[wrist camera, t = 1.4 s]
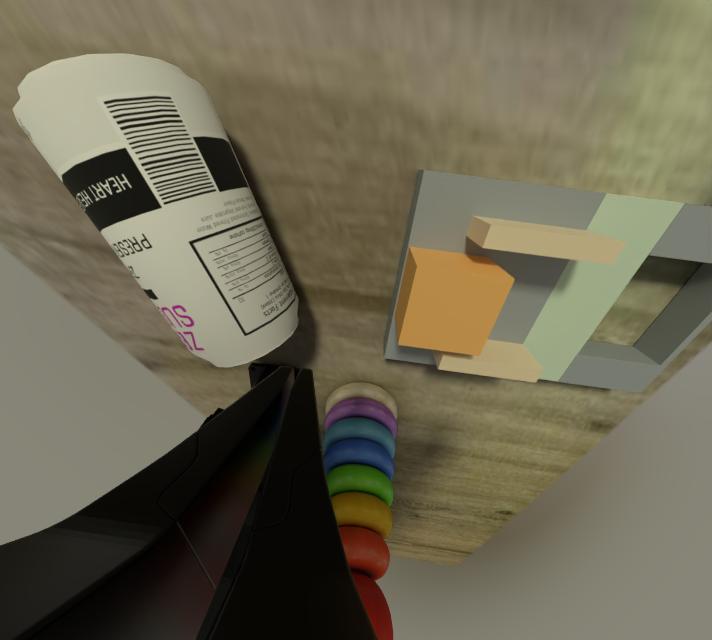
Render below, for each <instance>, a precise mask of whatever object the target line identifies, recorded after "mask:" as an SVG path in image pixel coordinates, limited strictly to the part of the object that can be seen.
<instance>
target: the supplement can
mask: <svg viewBox="0 0 712 640" xmlns="http://www.w3.org/2000/svg"><path fill="white" fill-rule="evenodd" d="M17 89H18V92H19V95H20V100H19V101H18V103H17V104H16V105H15V107H14V108H13V112H14V114H15V117H16V119H17V121H18V124H19V125H20V126H21V128H22V129H23V130H24V132H25V133H26V134H27V136H28V137H29V138H30V140H31V141H32V142H33V144H34V145H35V146H36V147H37V149H38V150H39V151H40V153H41V154H42V155H43V157H44V158H45V159H46V161H47V162H48V163H49V165H50V166H51V167H52V169H53V170H54V171H55V173H56V174H57V175H58V177H59V178H60V179H61V181H62V182H63V183H64V185H65V186H66V187H67V189H68V190H69V191H70V193H71V194H72V195H73V197H74V198H75V199H76V201H77V202H78V203H79V205H80V206H81V207H82V209H83V210H84V211H85V213H86V214H87V215H88V217H89V218H90V219H91V221H92V222H93V223H94V225H95V226H96V227H97V229H98V230H99V231H100V233H101V234H102V235H103V237H104V238H105V239H106V241H107V242H108V243H109V245H110V246H111V247H112V249H113V250H114V251H115V253H116V254H117V255H118V257H119V258H120V259H121V261H122V262H123V263H124V265H125V266H126V267H127V269H128V270H129V271H130V272H131V274H132V275H133V276H134V278H135V279H136V280H137V282H138V283H139V284H140V286H141V287H142V288H143V290H144V291H145V292H146V294H147V295H148V296H149V298H150V299H151V300H152V302H153V303H154V304H155V306H156V307H157V308H158V310H159V311H160V312H161V314H162V315H163V316H164V318H165V319H166V320H167V322H168V323H169V324H170V326H171V327H172V328H173V330H174V331H175V332H176V334H177V335H178V336H179V338H180V339H181V340H182V342H183V343H184V344H185V346H186V347H187V348H188V350H189V351H190V352H192V353H193V354H195V355H196V356H198V357H201V358H203V359H205V360H208V361H210V362H211V363H212V364H214V365H215V366H217V367H233V366H237V365H241V364H245V363H248V362H250V361H253V360H255V359H257V358H260V357H262V356H264V355H266V354H267V353H269V352H271V351H272V350H274V349H275V348H277V347H279V346H280V345H281V344H282V343H284V342H285V341H286V340H287V339H288V338H289V337H290V336H291V335H292V334H293V333H294V331H295V330H296V328H297V327H298V317H297V310H298V300H299V299H298V297H297V295H296V292H295V290H294V288H293V285H292V283H291V281H290V279H289V276H288V274H287V272H286V269H285V267H284V265H283V263H282V260H281V258H280V256H279V253H278V251H277V249H276V247H275V244H274V242H273V240H272V237H271V235H270V233H269V231H268V228H267V226H266V224H265V221H264V219H263V217H262V215H261V212H260V210H259V208H258V205H257V203H256V201H255V199H254V196H253V194H252V192H251V189H250V187H249V185H248V183H247V180H246V178H245V176H244V173H243V171H242V169H241V167H240V164H239V162H238V160H237V157H236V155H235V153H234V151H233V148H232V146H231V144H230V141H229V139H228V137H227V135H226V132H225V130H224V128H223V126H222V123H221V121H220V119H219V116H218V114H217V112H216V110H215V107H214V105H213V103H212V100H211V98H210V96H209V94H208V92H207V91H206V90H205V89H204V88H203V87H202V86H201V85H200V84H199V83H198V82H197V81H195V80H193V79H191V78H189V77H188V76H187V75H186V74H185V73H184V72H183V71H182V70H181V69H179V68H178V67H176V66H174V65H172V64H169V63H167V62H164V61H162V60H159V59H157V58H150V57H144V56H138V55H132V54H88V55H83V56H78V57H73V58H68V59H63V60H58V61H53V62H51V63H49V64H47V65H45V66H43V67H41V68H39V69H37V70H34V71H32V72H30V73H28V74H27V76H26V77H25V78H24V80H23V81H22V82H21V84H20V85H19V87H18V88H17Z"/></svg>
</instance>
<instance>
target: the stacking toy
mask: <svg viewBox="0 0 712 640" xmlns="http://www.w3.org/2000/svg"><path fill="white" fill-rule="evenodd" d="M325 415H326V418H325V422H324V427H325V432H326V433H325V435H324V438H323V451H324V455H323V461H324V468H325V474H326V480H327V484H328V489H329V493H330V497H331V501H332V505H333V509H334V512H335V516H336V520H337V524H338V528H339V531H340V535H341V539H342V543H343V546H344V550H345V554H346V557H347V560H348V564H349V567H350V570H351V573H352V576H353V579H354V581H355V584H356V587H357V589H358V591H359V594H360V596H361V599H362V601H363V604H364V606H365V609H366V611H367V614H368V616H369V618H370V621H371V623H372V626H373V628H374V631H375V633H376V636H377V638H378V640H393V628H392V620H391V614H390V611H389V607H388V604H387V601H386V599H385V597H384V594H383V593H382V591H381V589H380V587H379V586H378V585H377V584H376V582H375V580H377V579H379V578H381V577H382V576H383V575H384V574H385V573H386V571H387V569H388V566H389V561H390V555H389V550H388V546H387V544H386V542H385V541H384V539H385V538H386V537H387V536H388V535H389V533H390V532H391V529H392V525H393V517H392V513H391V510H390V508H389V507H390V506H391V504H392V501H393V498H394V491H393V486H392V483H391V480H392V478H393V475H394V462H393V457H394V454H395V441H394V439H395V437H396V435H397V421H396V420H397V416H398V409H397V405H396V402H395V400H394V399H393V397H392V396H391V395H390V394H389V393H388V392H387V391H385V390H384V389H382V388H381V387H379V386H376V385H374V384H370V383H364V382H356V383H349V384H346V385H343V386H341V387H339V388H337V389H336V390H334V391H333V392H332V393H331V395H330V396H329V397H328V399H327V401H326V405H325Z"/></svg>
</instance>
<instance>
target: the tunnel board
mask: <svg viewBox="0 0 712 640" xmlns="http://www.w3.org/2000/svg"><path fill="white" fill-rule="evenodd" d="M409 247H416V248H423V249H431V250H438V251H446V252H454V253H461V254H469V255H477V256H484V257H488V258H489V259H491V260H492V261H493V262H494V263H496V264H497V265H498V266H499V267H501V268H502V269H503V270H504V271H506V272H507V273H508V274H509V275H511V276H512V277H513V278H514V279H515V280H514V283H513V285H512V287H511V289H510V291H509V293H508V296H507V298H506V300H505V302H504V304H503V306H502V309H501V311H500V313H499V315H498V317H497V319H496V322H495V324H494V326H493V328H492V330H491V332H490V335H489V337H488V339H487V341H486V343H485V345H484V348H483V350H482V352H481V354H480V356H477V355H469V354H462V353H454V352H447V351H440V350H432V349H425V348H418V347H410V346H403V345H398V340H397V331H396V322H395V310H396V306H397V301H398V296H399V292H400V287H401V283H402V278H403V273H404V269H405V264H406V260H407V255H408V250H409ZM648 255H651V256H659V257H667V258H674V259H682V260H690V261H697V262H704V263H703V264H702V265H701V266H700V268H699V269H698V270H697V271H696V272H695V274H694V275H693V276H692V277H691V278H690V279H689V281H688V282H687V283H686V284H685V285H684V287H683V288H682V289H681V290H680V291H679V293H678V294H677V295H676V296H675V297H674V298H673V300H672V301H671V302H670V303H669V304H668V306H667V307H666V308H665V309H664V310H663V312H662V313H661V314H660V315H659V316H658V317H657V319H656V320H655V321H654V322H653V323H652V325H651V326H650V327H649V328H648V329H647V331H646V332H645V333H644V334H643V335H642V337H641V338H640V339H639V340H638V341H637V342H636V344H635V345H634V346H633V347H632V346H625V345H617V344H610V343H602V342H595V341H588V339H589V337H590V336H591V334H592V333H593V332H594V330H595V329H596V327H597V326H598V325H599V323H600V322H601V320H602V319H603V318H604V316H605V315H606V313H607V312H608V311H609V309H610V308H611V306H612V305H613V304H614V302H615V301H616V299H617V298H618V297H619V295H620V294H621V292H622V291H623V290H624V288H625V287H626V285H627V284H628V283H629V281H630V280H631V278H632V277H633V276H634V274H635V273H636V271H637V270H638V269H639V267H640V266H641V264H642V263H643V262H644V260H645V259H646V257H647V256H648ZM711 320H712V207H710V206H702V205H694V204H687V203H679V202H671V201H663V200H655V199H647V198H639V197H632V196H624V195H616V194H608V193H600V192H592V191H585V190H577V189H569V188H561V187H553V186H545V185H538V184H530V183H522V182H514V181H506V180H498V179H491V178H483V177H475V176H467V175H459V174H451V173H443V172H436V171H428V170H418V174H417V179H416V184H415V189H414V194H413V199H412V204H411V209H410V214H409V218H408V223H407V228H406V233H405V238H404V243H403V248H402V253H401V258H400V263H399V268H398V272H397V277H396V282H395V287H394V292H393V297H392V302H391V307H390V312H389V317H388V322H387V326H386V331H385V336H384V341H383V342H384V358H386V359H394V360H401V361H408V362H416V363H423V364H430V365H437V368H438V369H439V370H447V371H454V372H461V373H469V374H476V375H483V376H491V377H498V378H505V379H513V380H520V381H528V382H535V383H536V381H537V380H538V379H543V380H551V381H558V382H563V383H570V384H577V385H585V386H592V387H600V388H607V389H614V390H622V391H629V392H636V393H641V392H642V391H643V390H644V389H645V388H646V387H647V386H648V385H649V384H650V383H651V382H652V381H653V380H654V379H655V378H656V377H657V376H658V375H659V374H660V373H661V372H662V371H663V370H664V369H665V368H666V367H667V366H668V365H669V363H670V362H671V361H672V360H673V359H674V358H675V357H676V356H677V355H678V354H679V353H680V352H681V351H682V350H683V349H684V348H685V347H686V346H687V345H688V344H689V343H690V342H691V341H692V340H693V339H694V338H695V337H696V336H697V335H698V334H699V333H700V332H701V331H702V330H703V329H704V328H705V327H706V326H707V325H708V324H709V323H710V321H711Z"/></svg>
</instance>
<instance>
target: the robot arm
mask: <svg viewBox="0 0 712 640" xmlns="http://www.w3.org/2000/svg"><path fill="white" fill-rule="evenodd" d="M253 367H254V368H253ZM248 369H249V376H250V383H251V390H250V391H248V392H247V393H246V394H245V395H243V396H242V397H241V398H239V399H238V400H237V401H235V402H234V403H233V404H231V405H230V406H229V407H228V408H226V409H225V410H223V409H221V408H218V409H217V410H216V411H215V413H214V414H213V415H212V414H211V415H210V416H209V417H207V418H206V420H205V421H204V423H203V424H202V425H201V427H200V428H199V430H198V431H197V432H195V433H193V434H192V435H191V436H190V437H188V438H187V439H186V440H184V441H183V442H181V443H180V444H179V445H177V446H176V447H175V448H173V449H172V450H171V451H169V452H168V453H167V454H165V455H164V456H162V457H161V458H159V459H158V460H156V461H155V462H153V463H152V464H150V465H149V466H147V467H146V468H144V469H143V470H141V471H140V472H138V473H137V474H135V475H134V476H132V477H131V478H130V479H128V480H126V481H125V482H123V483H122V484H120V485H119V486H117V487H115V488H114V489H112V490H111V491H110V492H108V493H106V494H105V495H103V496H102V497H100V498H99V499H97V500H96V501H94V502H93V503H91V504H90V505H88V506H86V507H85V508H83V509H82V510H80V511H78V512H77V513H75V514H74V515H72V516H70V517H68V518H66V519H65V520H63V521H61V522H59V523H57V524H55V525H53V526H51V527H49V528H46V529H44V530H42V531H40V532H37V533H34V534H32V535H29V536H26V537H23V538H20V539H18V540H15V541H12V542H9V543H6V544H3V545H0V640H378V638H377V636H376V633H375V631H374V628H373V626H372V623H371V621H370V618H369V616H368V614H367V611H366V609H365V606H364V604H363V601H362V599H361V596H360V594H359V591H358V589H357V587H356V584H355V581H354V579H353V576H352V573H351V570H350V567H349V564H348V560H347V557H346V554H345V550H344V546H343V543H342V539H341V535H340V531H339V528H338V524H337V520H336V516H335V512H334V509H333V505H332V501H331V497H330V493H329V489H328V484H327V480H326V474H325V468H324V461H323V453H322V446H321V437H320V429H319V421H318V413H317V404H316V396H315V388H314V380H313V372H312V370H311V369H304V368H302V369H295V368H293V367H290V366H273V365H266V364H259V363H251V364H250V366H249V368H248Z"/></svg>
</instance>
